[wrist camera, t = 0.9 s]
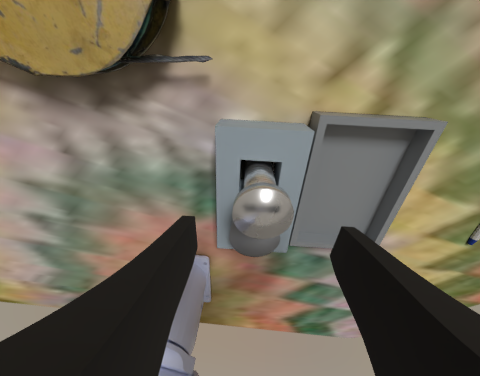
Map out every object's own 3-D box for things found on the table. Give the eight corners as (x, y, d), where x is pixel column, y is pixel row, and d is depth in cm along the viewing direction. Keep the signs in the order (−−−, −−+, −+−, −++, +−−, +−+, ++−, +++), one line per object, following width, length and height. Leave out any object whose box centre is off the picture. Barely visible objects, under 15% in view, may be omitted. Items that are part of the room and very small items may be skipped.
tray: (365, 237, 22) (375, 251, 20) (286, 232, 22) (289, 245, 20) (425, 117, 15) (448, 121, 13) (312, 111, 15) (320, 114, 14)
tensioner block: (282, 232, 22) (289, 265, 18) (221, 228, 22) (214, 259, 18) (303, 123, 16) (321, 136, 12) (220, 118, 16) (211, 130, 12)
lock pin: (274, 183, 19) (288, 240, 12) (238, 181, 19) (231, 237, 12) (279, 147, 17) (299, 191, 10) (239, 145, 17) (232, 187, 10)
